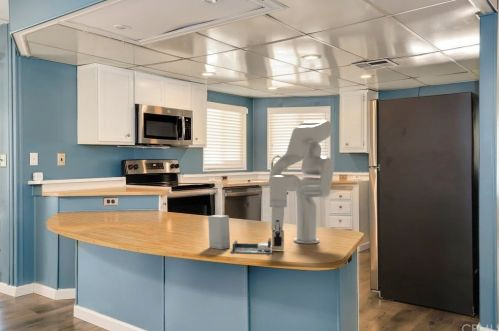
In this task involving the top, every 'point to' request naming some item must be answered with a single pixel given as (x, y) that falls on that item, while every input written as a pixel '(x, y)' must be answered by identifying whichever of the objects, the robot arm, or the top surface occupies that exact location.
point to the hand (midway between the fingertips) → (278, 244)
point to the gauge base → (248, 248)
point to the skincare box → (219, 231)
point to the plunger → (265, 246)
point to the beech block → (281, 242)
